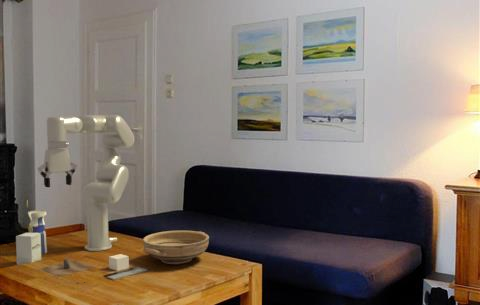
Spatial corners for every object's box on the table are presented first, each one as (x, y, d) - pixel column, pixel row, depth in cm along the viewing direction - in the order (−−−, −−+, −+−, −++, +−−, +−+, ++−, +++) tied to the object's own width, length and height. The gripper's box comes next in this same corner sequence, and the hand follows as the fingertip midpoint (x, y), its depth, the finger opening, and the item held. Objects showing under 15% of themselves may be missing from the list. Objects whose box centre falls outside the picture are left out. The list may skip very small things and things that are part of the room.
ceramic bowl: (173, 276, 198) (173, 251, 197) (121, 265, 213) (121, 242, 213) (227, 255, 229) (227, 233, 228) (178, 247, 244) (178, 226, 244)
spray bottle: (34, 256, 230) (32, 201, 229) (25, 253, 236) (23, 199, 234) (51, 252, 236) (49, 199, 235) (42, 249, 242) (40, 197, 240)
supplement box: (31, 266, 214) (30, 236, 213) (16, 265, 216) (15, 235, 215) (42, 261, 221) (41, 232, 221) (26, 260, 223) (25, 232, 222)
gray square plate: (124, 263, 216) (124, 262, 216) (147, 270, 206) (147, 269, 206) (90, 272, 205) (90, 270, 205) (113, 280, 194) (113, 278, 194)
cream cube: (109, 270, 205) (108, 256, 205) (120, 267, 209) (120, 254, 209) (117, 273, 201) (117, 259, 201) (129, 269, 205) (128, 256, 205)
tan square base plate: (74, 263, 217) (74, 252, 216) (95, 271, 206) (94, 258, 206) (38, 272, 205) (37, 260, 205) (58, 280, 194) (58, 267, 194)
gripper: (71, 144, 224) (72, 183, 225) (33, 146, 211) (34, 187, 213) (80, 145, 219) (81, 184, 220) (41, 146, 206) (43, 188, 208)
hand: (58, 185), depth 216 cm, fingers open, 9 cm apart
